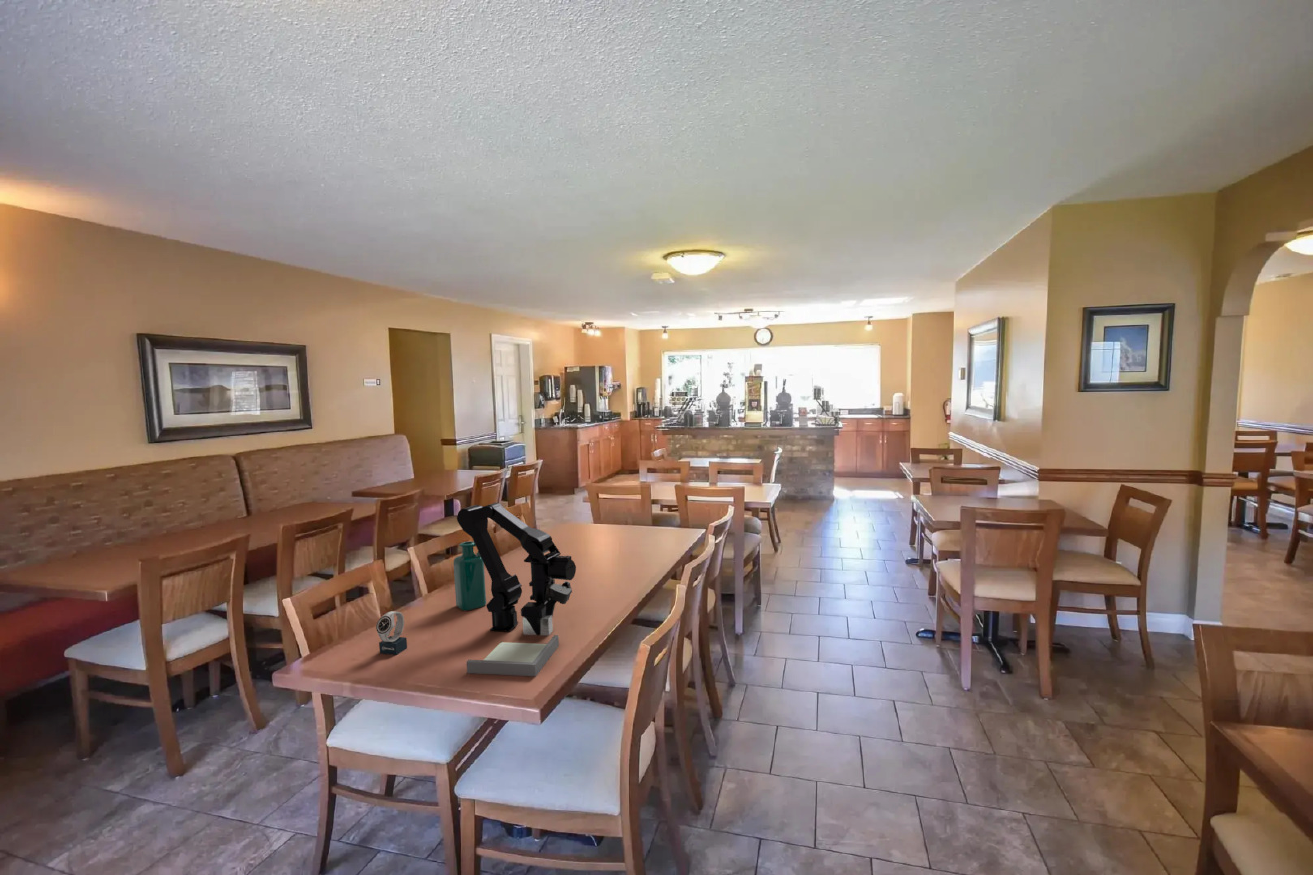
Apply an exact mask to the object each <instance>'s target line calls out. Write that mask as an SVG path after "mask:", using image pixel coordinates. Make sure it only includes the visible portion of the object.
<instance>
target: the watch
mask: <svg viewBox="0 0 1313 875" xmlns="http://www.w3.org/2000/svg"><path fill="white" fill-rule="evenodd" d="M395 616H396V622H395ZM404 626H405V617H404V614H403V613H402V612H400V611H392V610H391V611H388V612H386V613H385V614H384V615H382V616H381V617H380V618H379V619H378V620H377V622H376V625H375V629H376V632H377V635H378V637H379V639H380V640H381V641H379V642H378V647H379V654H382V655H389V656H390V655H393V656H397V655H399V654H401V653H402V652H404V651H405V650H407V649H408V642H407V641H408V640H407V639H408V638H407V637H403V636H401V635H403V634H402V633H403V631H404ZM393 629H394V630H393ZM392 630H393V635H391V636H390V634H391V632H392Z"/></svg>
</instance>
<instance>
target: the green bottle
mask: <svg viewBox="0 0 1313 875" xmlns="http://www.w3.org/2000/svg"><path fill="white" fill-rule="evenodd" d="M458 546H459V547H460V548H461V550H462V552H461V555H458V556H456V557H454V559H453V573H454V574H453V576H454V578H453V579H454V588H455V589H454V590H455V606H456V607H457V608H459V609H460V610H462V611H465V612H468V611H471V610H475V609H479V608H483V607H485V606H486V605H487V595H486V593H487V592H486V591H487V590H486V576H485V564H484V562H483V560H482V558H481V556H480V554H479V551H478V550H477V552H476V553H475V551H474V547H476V545H475V543H474V541H472V540H471V541H468V540H467V541H464V542H461V543H459V544H458Z"/></svg>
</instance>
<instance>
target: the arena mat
mask: <svg viewBox="0 0 1313 875" xmlns="http://www.w3.org/2000/svg"><path fill="white" fill-rule="evenodd" d="M547 644H548V643H533V642H532V643H528V642H503V641H502V642H500V643H499V644H498V645H497V646H495V648H494V649H493V650H492V651H491V652H490V653H489V654H488V655H487V656H486V657H485V658H483V660H490V661H513V662H533V661H534V660H535V659H536V657H537V656H538V655H539V654H540V652H541V651H542V650H543V649H544V647H545V646H546V645H547Z"/></svg>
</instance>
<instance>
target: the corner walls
mask: <svg viewBox="0 0 1313 875" xmlns="http://www.w3.org/2000/svg"><path fill="white" fill-rule="evenodd" d="M559 641H560V640H559V635H558V634H554V635H553V636H552V637H551V638H550V639H549V641H548V642H547V643H546V644H547V645H546V646H545V647H544V649H543V650H542V651H541V652H540V654H539V655H538V656H537V657H536V659H535V660H534V661H533V662H513V661H490V660H484V659H468V660H466V661H465V662H466V673H467V674H478V675H497V676H498V675H500V676H501V675H503V676H504V675H505V676H518V677H519V676H521V677H537V676H538V674H539V672H541V670H543V667H544V666H545V665H546V664H547V662H548V661H549V660H550V658H551V657H552V655H553V654H554V653H555V651H556V650H557V649H558V648H559V645H560V642H559Z"/></svg>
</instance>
